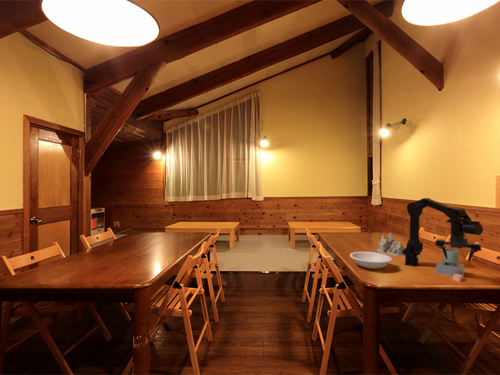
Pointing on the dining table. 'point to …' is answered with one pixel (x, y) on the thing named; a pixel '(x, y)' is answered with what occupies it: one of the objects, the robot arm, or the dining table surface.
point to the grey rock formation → (390, 246)
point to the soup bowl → (371, 259)
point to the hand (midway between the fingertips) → (457, 260)
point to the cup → (451, 256)
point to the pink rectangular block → (457, 277)
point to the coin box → (449, 268)
